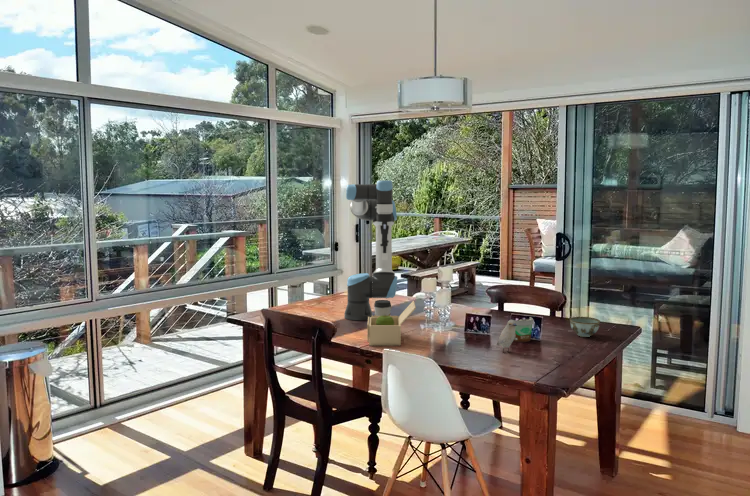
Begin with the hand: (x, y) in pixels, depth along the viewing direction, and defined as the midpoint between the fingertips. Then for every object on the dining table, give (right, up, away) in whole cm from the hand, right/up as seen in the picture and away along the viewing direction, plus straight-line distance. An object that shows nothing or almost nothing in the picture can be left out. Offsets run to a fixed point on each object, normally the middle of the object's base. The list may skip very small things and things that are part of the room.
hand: (384, 258), depth 294 cm
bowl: (+94, -37, -2) cm, 101 cm away
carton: (0, -38, -9) cm, 39 cm away
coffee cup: (-1, -36, +8) cm, 37 cm away
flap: (+7, -28, -10) cm, 31 cm away
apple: (0, -37, -8) cm, 38 cm away
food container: (+64, -38, -9) cm, 75 cm away
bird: (+52, -40, -29) cm, 72 cm away
